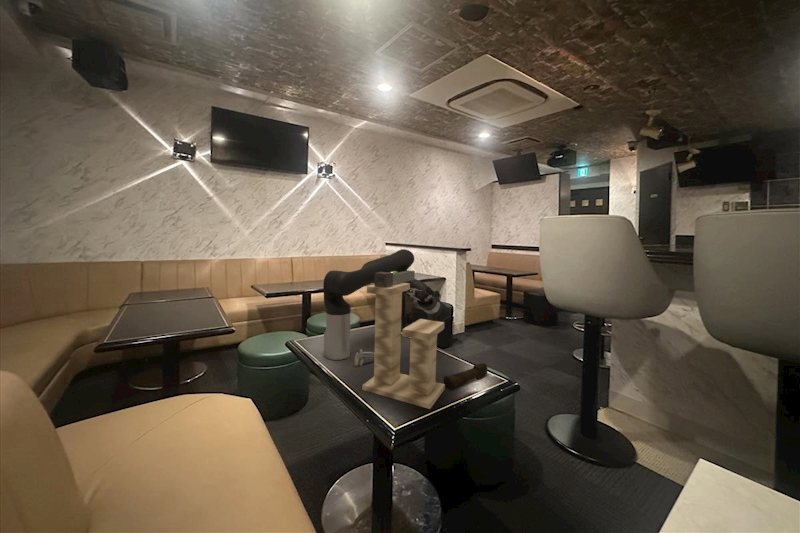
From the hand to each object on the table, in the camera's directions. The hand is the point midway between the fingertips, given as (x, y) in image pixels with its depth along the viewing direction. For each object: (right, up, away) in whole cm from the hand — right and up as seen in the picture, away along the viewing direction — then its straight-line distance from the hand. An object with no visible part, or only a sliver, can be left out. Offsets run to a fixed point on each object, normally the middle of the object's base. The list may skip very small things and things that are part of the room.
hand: (415, 287), depth 113 cm
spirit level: (-7, +2, -14) cm, 16 cm away
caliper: (-14, -28, +3) cm, 32 cm away
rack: (-5, -30, -19) cm, 36 cm away
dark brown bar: (+16, -31, -12) cm, 36 cm away
